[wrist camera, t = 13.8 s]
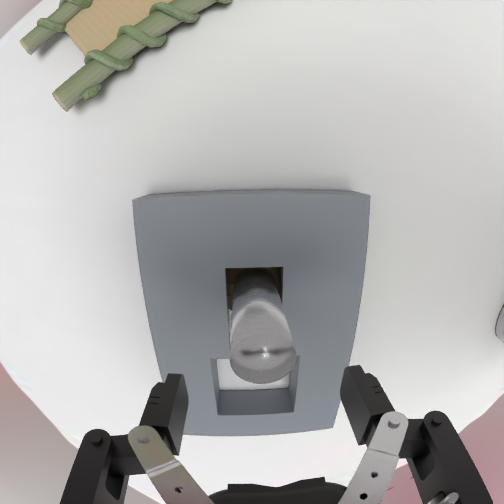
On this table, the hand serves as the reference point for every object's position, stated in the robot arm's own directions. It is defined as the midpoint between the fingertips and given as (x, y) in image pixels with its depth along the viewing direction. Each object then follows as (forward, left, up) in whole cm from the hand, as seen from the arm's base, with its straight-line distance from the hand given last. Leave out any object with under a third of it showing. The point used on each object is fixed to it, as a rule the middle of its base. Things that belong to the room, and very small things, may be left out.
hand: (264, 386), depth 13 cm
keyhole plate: (0, +5, -14) cm, 15 cm away
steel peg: (0, 0, -14) cm, 14 cm away
